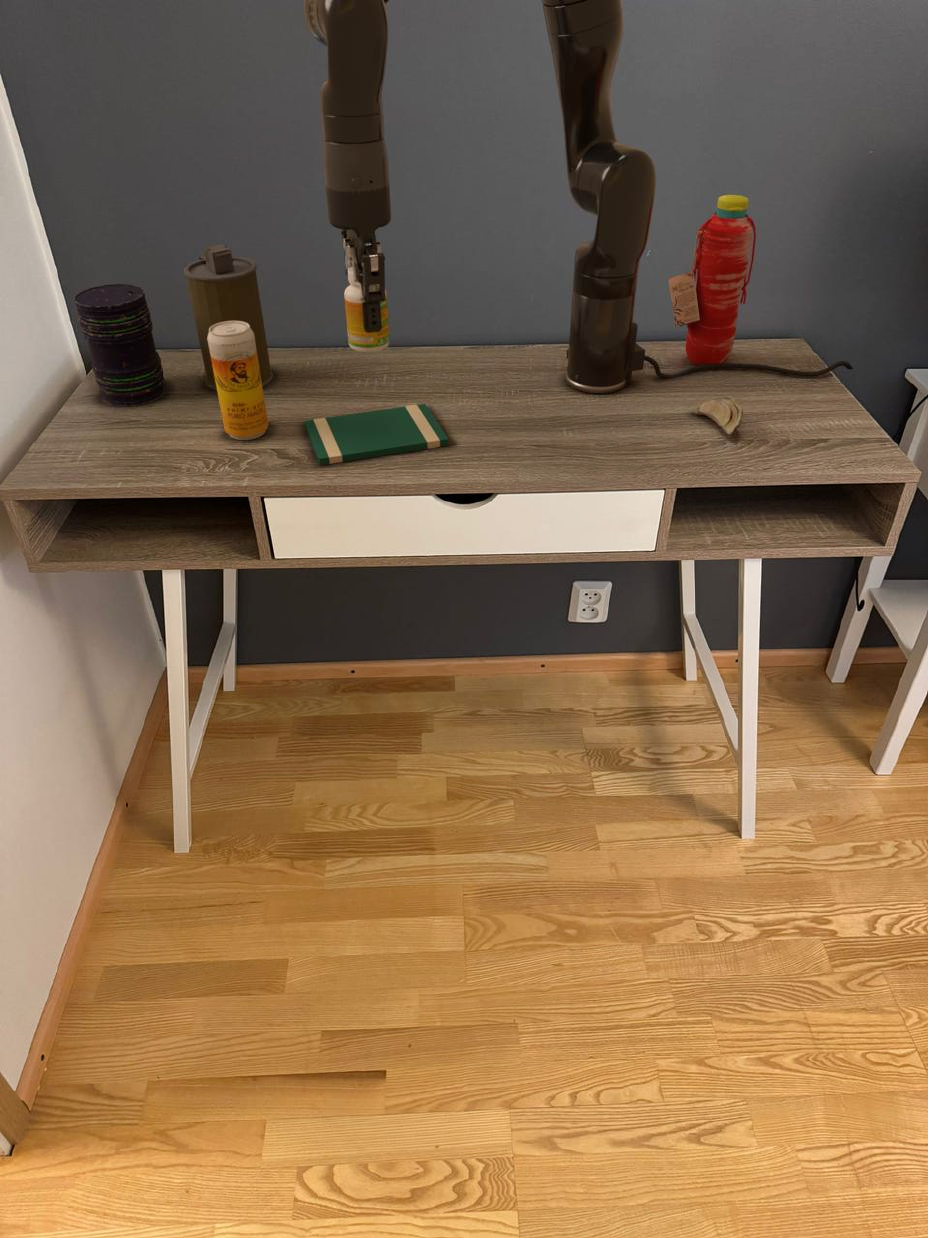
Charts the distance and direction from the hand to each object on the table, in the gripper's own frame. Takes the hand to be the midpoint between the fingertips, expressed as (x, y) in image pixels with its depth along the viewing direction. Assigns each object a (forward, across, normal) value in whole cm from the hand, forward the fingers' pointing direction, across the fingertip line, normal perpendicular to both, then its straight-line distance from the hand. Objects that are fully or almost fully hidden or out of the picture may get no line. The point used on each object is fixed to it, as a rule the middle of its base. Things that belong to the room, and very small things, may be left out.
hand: (367, 322), depth 114 cm
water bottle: (+16, +9, -56) cm, 59 cm away
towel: (+16, 0, 0) cm, 16 cm away
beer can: (+16, +7, +17) cm, 25 cm away
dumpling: (+16, -13, -47) cm, 51 cm away
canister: (+16, +26, +16) cm, 34 cm away
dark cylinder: (+16, +26, +32) cm, 44 cm away
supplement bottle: (+3, 0, 0) cm, 3 cm away
